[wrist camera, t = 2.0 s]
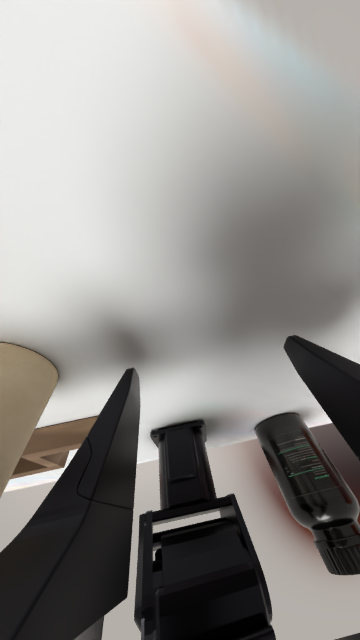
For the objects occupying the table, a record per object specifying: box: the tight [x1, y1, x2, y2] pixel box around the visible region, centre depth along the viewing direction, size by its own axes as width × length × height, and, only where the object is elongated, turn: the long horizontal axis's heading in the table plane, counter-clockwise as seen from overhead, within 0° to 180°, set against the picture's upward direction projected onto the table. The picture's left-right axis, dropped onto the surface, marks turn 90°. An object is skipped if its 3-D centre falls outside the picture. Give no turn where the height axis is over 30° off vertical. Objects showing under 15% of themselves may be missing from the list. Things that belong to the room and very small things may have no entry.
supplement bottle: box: [255, 413, 360, 575], centre depth 20 cm, size 7×7×12 cm
